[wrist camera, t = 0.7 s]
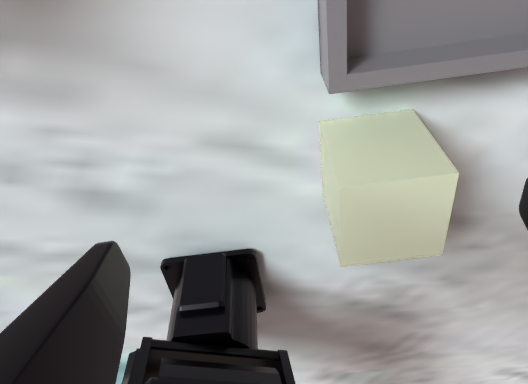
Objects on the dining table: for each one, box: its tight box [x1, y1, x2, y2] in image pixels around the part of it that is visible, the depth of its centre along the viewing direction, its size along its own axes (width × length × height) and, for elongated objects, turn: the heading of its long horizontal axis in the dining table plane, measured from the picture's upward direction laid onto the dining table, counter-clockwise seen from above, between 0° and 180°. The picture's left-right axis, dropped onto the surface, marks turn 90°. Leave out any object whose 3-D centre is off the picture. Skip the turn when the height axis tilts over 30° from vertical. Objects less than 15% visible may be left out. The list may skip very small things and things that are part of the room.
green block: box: [319, 109, 459, 267], centre depth 21 cm, size 5×5×6 cm
